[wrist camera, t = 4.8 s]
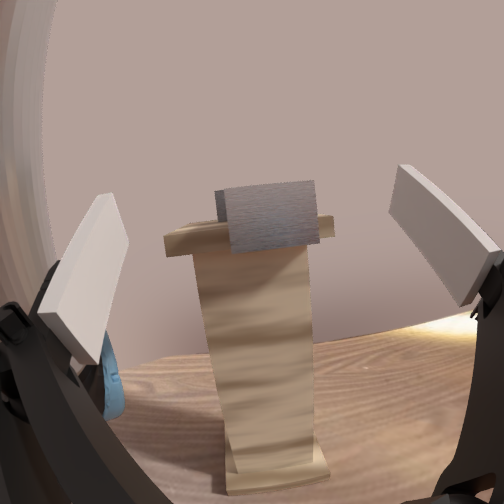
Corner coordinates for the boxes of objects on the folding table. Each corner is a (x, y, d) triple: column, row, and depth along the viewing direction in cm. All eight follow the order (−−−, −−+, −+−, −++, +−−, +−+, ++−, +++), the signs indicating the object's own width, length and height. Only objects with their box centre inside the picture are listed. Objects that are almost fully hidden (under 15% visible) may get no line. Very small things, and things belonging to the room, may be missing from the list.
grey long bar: (348, 239, 9) (339, 147, 9) (199, 258, 9) (187, 160, 8) (262, 214, 33) (259, 188, 32) (219, 219, 32) (216, 193, 32)
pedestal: (329, 479, 25) (333, 215, 20) (228, 496, 24) (163, 236, 19) (304, 413, 39) (291, 211, 34) (226, 425, 38) (189, 223, 33)
